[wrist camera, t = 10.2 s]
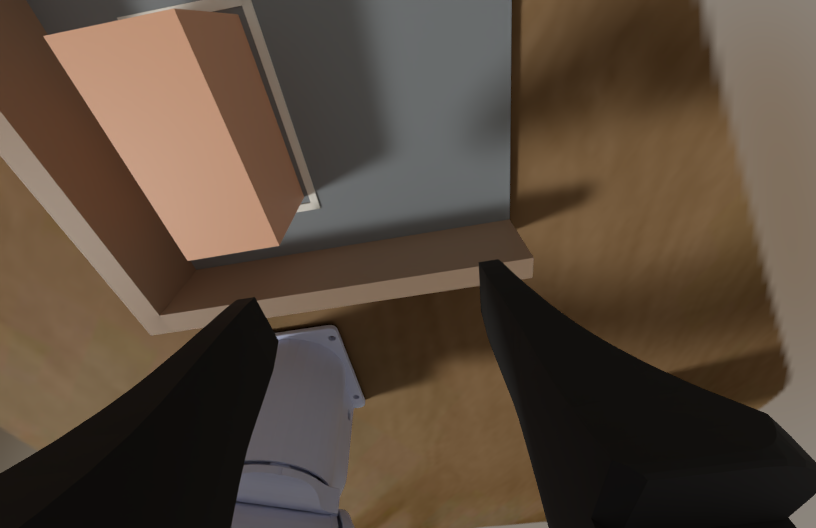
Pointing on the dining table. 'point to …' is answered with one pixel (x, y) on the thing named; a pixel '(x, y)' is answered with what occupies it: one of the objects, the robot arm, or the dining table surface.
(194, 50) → the terracotta block
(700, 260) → the dining table surface
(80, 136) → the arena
